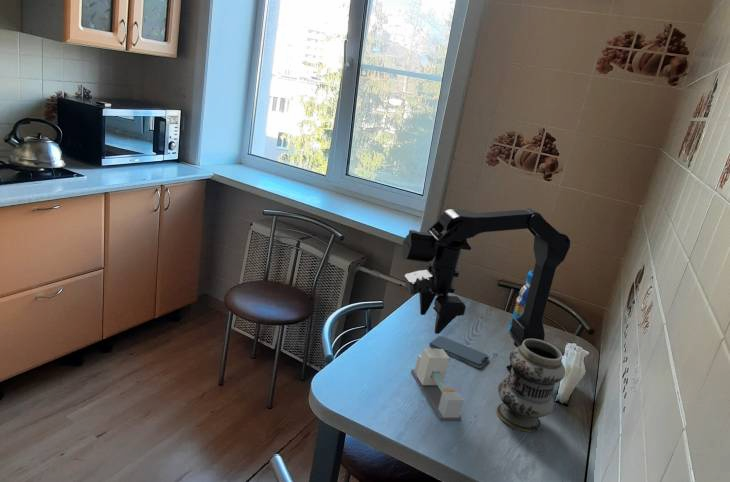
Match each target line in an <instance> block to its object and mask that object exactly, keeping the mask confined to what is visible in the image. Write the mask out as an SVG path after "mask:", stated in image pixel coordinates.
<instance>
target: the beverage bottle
mask: <svg viewBox="0 0 730 482" xmlns="http://www.w3.org/2000/svg"><path fill="white" fill-rule="evenodd" d="M533 272H534V270H529V271H528V273H527V275H526V279H525V283H526V284H524V285H523V286H522V287H521V289H520V290H519V295H518V297H516V301H515V306H514V309H513V312H512V316H511V319H510V322H509V325H508V328H507V330H508V333H510V331H509V330H510V329H511V326H512V320H513V318H516V319H518V318H519V317H520V316H521V315H522V314H523V312H524V308H525V304H526V300H527V296H528V292H529V288H530V284H531V280H532V276H533Z"/></svg>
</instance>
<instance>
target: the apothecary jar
mask: <svg viewBox="0 0 730 482" xmlns="http://www.w3.org/2000/svg"><path fill="white" fill-rule="evenodd" d="M562 359H563V354H562V352H561V350H560V349H559V348H557V347H556V346H554V345H553V344H551V343H549V342H547V341H545V340H544V341H542V340H539V339H526V340H524V341H523V342H522V345H521V346H519V347H516V346H515V348H513V349H512V350H511V351H510V353H509V361H510V363H511V365H512V369H511V372H510V371H509V374H508V377H505V378H503V380H501V382H500V383H499V385H498V390H497V391H498V395H499V398H500V400H501V402H502V403H500V404H499V405H498V406H497V408H496V413H497V416H498V417H499V419H500V420H501V421H502V422H503V423H505V424H506V425H507V426H510V427H511V428H512V429H515V430H517V431H520V432H526V433H531V432H533V431H539V430H540V428H541V426H542V424H541V420H540V418H543V417H547V416H548V415H550V414H551V412H552V411H553V409H554V404H555V403H554V399H553V396H552V394H553V390H554V387H555V385H556V384H557V383H560V382H562V380H563V379H564V377H565V376H566V368H565V365H564V364H563V361H562Z"/></svg>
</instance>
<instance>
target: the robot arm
mask: <svg viewBox="0 0 730 482" xmlns="http://www.w3.org/2000/svg"><path fill="white" fill-rule="evenodd" d="M514 230H516V231H517V230H528V232H530V234H532V236H533V238H534V239H533V253H534V258H535V263H534V268H533V271H534V272H533V276H532V280H531V284H530V288H529V292H528V296H527V300H526V304H525V308H524V312H523V314H522V315H521V316H520V317H519V318H518V319H516V318H513V320H512V326H511V329H510V330H508V332H509V331H510V332H509V334H510V337H511V339H512V340H513V345H514V346H515V348H516V347H519V346H521V345H522V342H523V341H524V340H526V339H539V340H542V341H545V336H546V335H545V326H544V322H543V321H544V320H543V319H544V317H545V316H544V315H545V312H546V308H547V304H548V300H549V296H550V293H551V289H552V285H553V283H554V282H553V281H554V277H555V275H556V270H557V268H558V266H560V264H562V263H563V262H564V260H565V259H566V257H567V255H568V253H569V251H570V248H571V243H572V242H571V240H570V238H569V236H567V234H565V233H563V232H562V231H560V230H559V229H557V228H555V227H553V225H551V224H550V223H549V222H548V221H547V220H546V219H545V218H544V217H543V215H542V214H541V213H539V212H538V211H536V210H534V209H532V208H531V207H529V208H524V209H518V210H517V209H515V210H514V209H513V210H502V211H499V210H498V211H490V212H489V211H487V212H473V211H471V210H465V209H457V208H450V209H446V210H444V212H443V213H442V214H441V216H440V217H439V220H437V221H436V222H435V223H434V224H433V225H432V226H431V227H429V228H428V229H427V232H422V231H418V230H415V229H410V230H408V234H407V235H406V236H405V238H404V240H403V241H402V245H401V246H402V247H401V255H402V259H403V260H404V261H413V262H420V263H428V264H427V265H426V268H425V269H422V270H420V269H418V270H415V271H412V272H409V273H406V274H404V280H405V281H404V283H405V288H406V289H407V290H408V292H409V293H410V294H411V295H417V294H418V295H419V296H418V297H419V312H420V313H419V314H420V315H421V316H426V314H427V312H428V310H429V309H430V307H431V305H432V303H433V304H434V306H432V308H433V310H434V311H435V313H436V318H435V325H434V334H435V335H436V334H437V335H439V334H440V333H442V332H443V331H444V329H446V327H447V326H448V325H449V324H450V323H451V322H452V321H453V320H454V319H455V318H456V317H460V316H464V315H465V312H466V310H467V306H466V304H465V302H463V301H462V300H461V299H460V298H459V296H457V295H456V296H455V295H449V294H454V292H455V288H454V286H453V284H454V283H453V282H454V280H455V277H456V278H458V277H459V275H460V272H459V271H457V268H458V263H459V261H460V256H461V253H462V250H464V251H470V250H472V247H471V245H470V244H469V243H468V241H467V240H468V239H471V238H474V237H476V236H478V235H479V234H482V233H491V232H503V231H505V232H506V231H514ZM442 232H444V233H442ZM506 369H507V371H509V373H510V372H511V369H512V365H511V363H510V364H509V365H506Z"/></svg>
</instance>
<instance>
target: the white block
mask: <svg viewBox="0 0 730 482" xmlns="http://www.w3.org/2000/svg"><path fill="white" fill-rule="evenodd" d="M421 355H422V356H421V360H420V363H419V367H418V371H417V377H418V378H419V380H420V382H421V384H422V385H437V384H436V382H435V381H434V379H433V378H432V376H431V375H432V371H436V372H438V373H439V375H440V376H441V378H442V379H443V381H444V380H445V376H446V372H447V371H448V370H447V369H448V366H449V362H450V356H449V355H447V354H446V353H445V351H444V350H443V349H434V348H432V347H430V348H429V347H428V348H426V347H424V348H422V352H421Z"/></svg>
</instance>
